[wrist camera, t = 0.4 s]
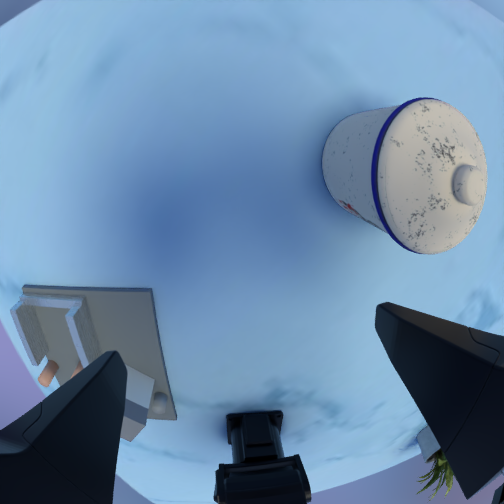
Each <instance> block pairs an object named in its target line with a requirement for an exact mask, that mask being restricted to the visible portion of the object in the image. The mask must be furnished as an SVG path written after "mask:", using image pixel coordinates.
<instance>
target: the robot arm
mask: <svg viewBox="0 0 504 504" xmlns="http://www.w3.org/2000/svg"><path fill="white" fill-rule="evenodd" d="M375 329H376V332H377V334H378V336H379V338H380V340H381V342H382V344H383V346H384V348H385V350H386V352H387V355H388V357H389V359H390V361H391V363H392V364H393V366H394V368H395V370H396V371H397V373H398V374H399V376H400V378H401V379H402V381H403V383H404V384H405V386H406V388H407V389H408V391H409V393H410V394H411V396H412V398H413V399H414V401H415V403H416V405H417V406H418V408H419V410H420V411H421V413H422V415H423V417H424V418H425V420H426V422H427V424H428V426H429V427H430V429H431V431H432V433H433V435H434V436H435V438H436V440H437V442H438V444H439V446H440V447H441V449H442V451H443V453H445V454H444V455H445V457H446V459H447V461H448V463H449V465H450V467H451V469H452V471H453V473H454V475H455V477H456V479H457V481H458V483H459V485H460V487H461V489H462V491H463V493H464V495H465V497H466V499H467V500H468V499H469V498H471V497H472V496H473V495H475V494H476V493H478V492H479V491H480V490H482V489H483V488H484V487H486V486H487V485H488V484H490V483H491V482H492V481H493V480H495V479H496V478H497V477H498V476H499V475H501V474H503V476H504V336H501V335H496V334H492V333H488V332H484V331H481V330H477V329H474V328H471V327H467V326H464V325H461V324H458V323H454V322H451V321H448V320H445V319H441V318H438V317H435V316H432V315H428V314H425V313H422V312H419V311H416V310H412V309H409V308H406V307H403V306H400V305H396V304H393V303H390V302H385V303H381V304H378V305H377V307H376V317H375ZM127 376H128V372H127V368H126V366H125V364H124V362H123V360H122V358H121V356H120V354H119V352H118V351H116V350H113V351H106V352H105V353H103V354H102V355H101V356H99V357H98V358H97V359H95V360H94V361H93V362H92V363H90V364H89V365H88V366H86V367H85V368H84V369H82V370H81V371H80V372H79V373H77V374H76V375H75V376H73V377H72V378H71V379H69V380H68V381H67V382H66V383H64V384H63V385H62V386H60V387H59V388H58V389H57V390H55V391H54V392H53V393H51V394H50V395H49V396H48V397H46V398H45V399H44V400H43V401H42V402H40V403H39V404H37V405H36V406H35V407H33V408H32V409H31V410H29V411H28V412H27V413H25V414H24V415H22V416H21V417H20V418H18V419H17V420H15V421H14V422H12V423H11V424H9V425H8V426H6V427H5V428H3V429H2V430H0V504H112V503H113V491H114V481H115V472H116V464H117V456H118V449H119V442H120V435H121V429H122V423H123V417H124V411H125V401H126V388H127ZM226 419H227V434H228V444H230V445H232V455H233V464H219V469H218V470H216V485H215V491H214V501H215V502H217V503H218V504H307V502H311V490H310V485H309V481H308V478H307V475H306V472H305V470H304V467H303V464H302V461H301V459H300V456H299V454H296V455H294V456H289V457H284V452H283V448H282V443H281V439H280V431H281V426H282V420H283V413H282V412H281V411H276V412H265V413H251V414H230V415H227V417H226ZM492 504H504V483H503V484H502V485H501V486H500V487H499V488H498V489H496V490H495V493H494V497H493V501H492Z"/></svg>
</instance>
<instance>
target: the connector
mask: <svg viewBox="0 0 504 504" xmlns="http://www.w3.org/2000/svg"><path fill="white" fill-rule="evenodd" d="M125 366H126V368H127V372H128V376H127V388H126V401H125V411H124V417H123V423H122V429H121V435H120V437H121V438H123V439H125V440H127V441H130V442H131V441H132V440H133V439H134V438H135V437H136V436H137V435H138V433H139V432H140V431H141V430H142V429H143V428H144V427H145V426H146V420H147V415H148V410H149V405H150V400H151V395H152V390H153V386H154V381H155V380H154V379H152V378H150V377H148V376H146V375H144V374H142V373H141V372H139V371H137V370H135V369H133V368H131V367H129V366H127V365H126V364H125Z"/></svg>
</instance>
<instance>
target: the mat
mask: <svg viewBox="0 0 504 504" xmlns="http://www.w3.org/2000/svg"><path fill="white" fill-rule="evenodd" d="M22 290H23V293H24V292H28V293H42V294H59V295H79V296H86V300H87V304H88V308H89V312H90V315H91V319H92V323H93V326H94V330H95V333H96V336H97V340H98V343H99V346H100V349H101V352H102V354H103V353H105V352H106V351H113V350H116V351H118V352H119V354H120V356H121V358H122V360H123V362H124V364H126V365H127V366H129V367H131V368H133V369H135V370H137V371H139V372H141V373H142V374H144V375H146V376H148V377H150V378H152V379H154V380H155V381H154V386H153V390H152V395H151V400H150V405H149V410H148V415H147V419H159V420H177V415H176V411H175V407H174V403H173V399H172V395H171V391H170V386H169V382H168V378H167V373H166V368H165V364H164V359H163V354H162V349H161V343H160V338H159V332H158V326H157V320H156V314H155V308H154V301H153V294H152V289H127V288H84V287H57V286H36V285H24V286H23V287H22ZM34 308H35V311H36V314H37V317H38V320H39V323H40V326H41V328H42V331H43V334H44V336H45V339H46V342H47V344H48V347H49V350H48V352H47V353H46V357H47V359H48V361H49V360H53V361H55V362H56V363H57V364H58V366H59V368H58V370H57V372H56V374H55V376H56V378H57V380H58V382H59V384H60V386H62V385H63V384H64V383H66V382H67V381H68V380H69V379H71V377H72V375H73V373H74V371H75V369H76V367H77V365H78V363H79V361H80V358H79V356H78V353H77V350H76V348H75V345H74V342H73V339H72V336H71V333H70V330H69V327H68V324H67V321H66V318H65V315H66V314H67V313H68V312H69V310H70V309H68V308H55V307H43V306H34ZM156 392H163V393H165V394H166V395H167V403H166V409H165V413H163V414H157V413H155V412H153V411H152V404H153V399H154V394H155V393H156Z"/></svg>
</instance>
